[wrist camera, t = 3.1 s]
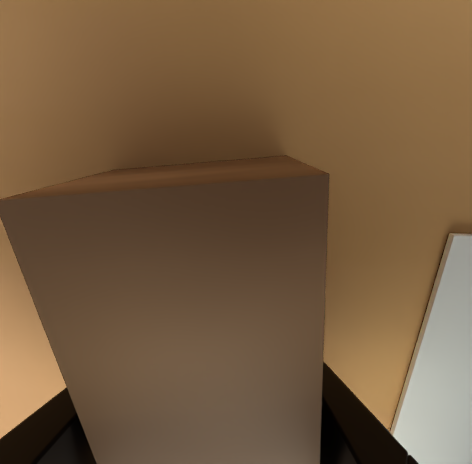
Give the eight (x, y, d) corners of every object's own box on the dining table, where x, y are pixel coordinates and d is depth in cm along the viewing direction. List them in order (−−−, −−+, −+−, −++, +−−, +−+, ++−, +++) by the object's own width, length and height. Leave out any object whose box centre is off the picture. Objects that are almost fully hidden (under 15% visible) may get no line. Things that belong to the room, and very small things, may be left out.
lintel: (291, 443, 12) (315, 591, 8) (177, 447, 12) (146, 592, 8) (286, 155, 8) (329, 174, 4) (113, 169, 8) (-6, 200, 4)
